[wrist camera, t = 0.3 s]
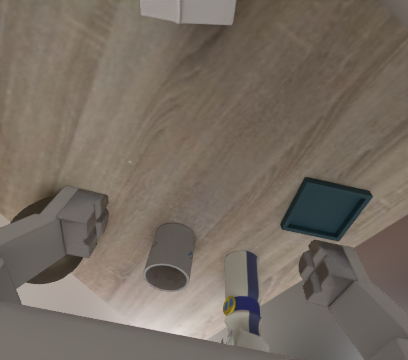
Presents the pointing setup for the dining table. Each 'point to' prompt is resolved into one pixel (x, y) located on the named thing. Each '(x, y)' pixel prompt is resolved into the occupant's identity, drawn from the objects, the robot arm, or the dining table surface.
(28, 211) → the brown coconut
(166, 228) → the mug
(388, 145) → the dining table surface
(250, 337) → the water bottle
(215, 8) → the milk carton
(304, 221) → the tray
